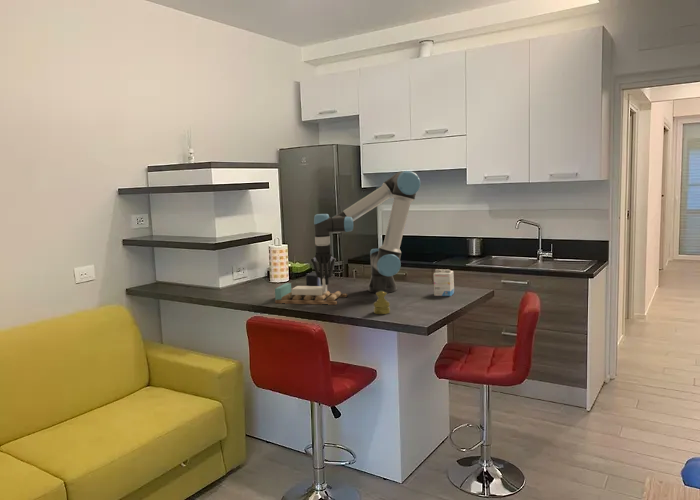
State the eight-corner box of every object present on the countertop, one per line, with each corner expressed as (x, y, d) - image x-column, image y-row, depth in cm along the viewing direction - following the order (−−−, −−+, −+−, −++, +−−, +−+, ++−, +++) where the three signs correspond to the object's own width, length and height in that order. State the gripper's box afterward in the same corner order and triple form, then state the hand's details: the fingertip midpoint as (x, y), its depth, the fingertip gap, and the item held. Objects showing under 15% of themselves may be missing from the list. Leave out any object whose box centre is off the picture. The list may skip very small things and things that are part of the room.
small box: (318, 294, 296) (317, 275, 295) (306, 294, 297) (305, 275, 296) (323, 290, 306) (322, 271, 305) (311, 290, 308) (310, 271, 306)
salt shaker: (375, 310, 255) (375, 289, 254) (391, 310, 253) (391, 289, 251) (371, 314, 248) (371, 292, 247) (388, 314, 246) (387, 292, 244)
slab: (326, 292, 285) (326, 286, 284) (321, 295, 277) (321, 289, 277) (297, 291, 289) (297, 285, 289) (291, 294, 282) (291, 289, 281)
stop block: (291, 296, 294) (290, 283, 293) (281, 302, 281) (280, 288, 280) (286, 296, 295) (285, 283, 294) (275, 302, 281) (274, 288, 281)
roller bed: (347, 296, 288) (346, 290, 287) (335, 304, 270) (335, 298, 269) (290, 295, 297) (289, 289, 296) (275, 303, 279) (275, 296, 278)
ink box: (454, 293, 285) (454, 267, 283) (450, 296, 277) (449, 270, 275) (438, 292, 288) (437, 266, 286) (433, 295, 281) (433, 269, 279)
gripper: (337, 243, 279) (339, 289, 282) (313, 244, 283) (315, 289, 286) (332, 245, 272) (335, 292, 275) (307, 245, 276) (310, 292, 279)
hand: (325, 291), depth 280 cm, fingers closed
